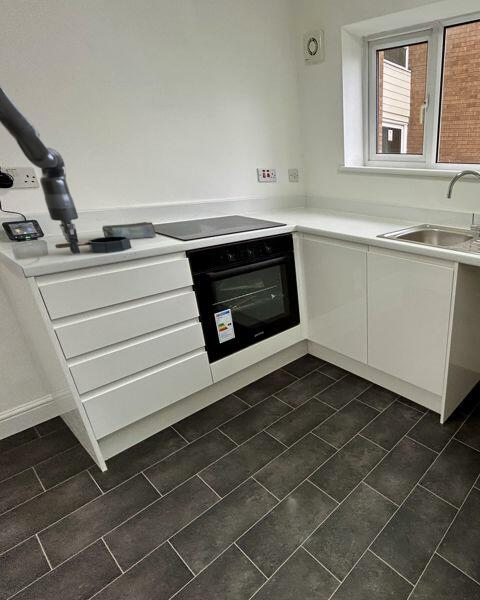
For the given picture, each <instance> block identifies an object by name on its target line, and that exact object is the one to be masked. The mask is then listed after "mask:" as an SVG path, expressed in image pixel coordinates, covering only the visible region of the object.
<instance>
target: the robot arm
mask: <svg viewBox="0 0 480 600" xmlns="http://www.w3.org/2000/svg"><path fill="white" fill-rule="evenodd" d="M0 124H1V126H2V127H3V128H4V129H5V131H6V132H7V133H8V134H9V135H10V136H11V138H13V139H14V140H15V143H16V144H17V145H18V147H19V149H20V150H21V152H22V154H23V155H24V156H25V158H26V159H27V160H28V161H29V162H30V163H31V164H32V165H33V166H35V167H36V168H39V169H40V171H41V177H40V178H39V184H40V186H41V189H42V192H43V196H44V201H45V204H46V208H47V210H48V213H49V217H50V220H51V221H60V224H59V225H58V226H59V229H61V233H62V236H64V239H65V240H66V243H69V244H70V247H69V250H70V252H71V253H72V254H79V253H81V250H80V246H78V244H77V243H78V242H79V239H78V232H77V227H76V224H75V223H73V222H72V220H77V219H79V214H78V211H77V208H76V205H75V202H74V199H73V196H72V195H71V192H70V188H69V186H68V183H67V172H66V165H65V161H64V159H63V157H62V155H61V153H60V152H59V151H57V150H56V149H54V148H52V147H47V146H46V145H45V144H44V142H43V141H42V140H41V138H40V137H41V135H40V133H39V130H38V129H37V128H36V127H35V125H34V124H33V123H32V122H31V121H30V120H29V119H28V117H27V116H26V115H25V114H24V112H23V111H22V110H21V108H19V107H18V105H16V103H15V102H14V100H13V99H12V98H11V97H10V95H8V93H6V91H5V90H4V89H3V87H2V86H1V85H0Z"/></svg>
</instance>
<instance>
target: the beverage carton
mask: <svg viewBox="0 0 480 600" xmlns="http://www.w3.org/2000/svg"><path fill="white" fill-rule="evenodd" d="M102 232H103V237H111V236H124V237H127V238H129V240H131V239H132V240H134V239H145V238H156V228H155V226H154V224H153V222H152V221H151V222H150V221H149V222H147V221H143V222H135V223H124V224H109V225H108V224H107V225H102Z"/></svg>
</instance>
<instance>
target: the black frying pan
mask: <svg viewBox="0 0 480 600" xmlns="http://www.w3.org/2000/svg"><path fill="white" fill-rule="evenodd" d="M77 244H78V247H83V246H88V248H89V251H90V252H92V253H94V254H111V253H116V252H123V251H127V250H130V249H132V244H131V239H129V238H127V237H124V236H111V237H104V236H103V237H96V238H92V239H88V240H84V241H83V240H82V241H78V243H77ZM54 248H56V249H66V248H70V244H69V243H68V242H65V243H56V244H55V245H54Z"/></svg>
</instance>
